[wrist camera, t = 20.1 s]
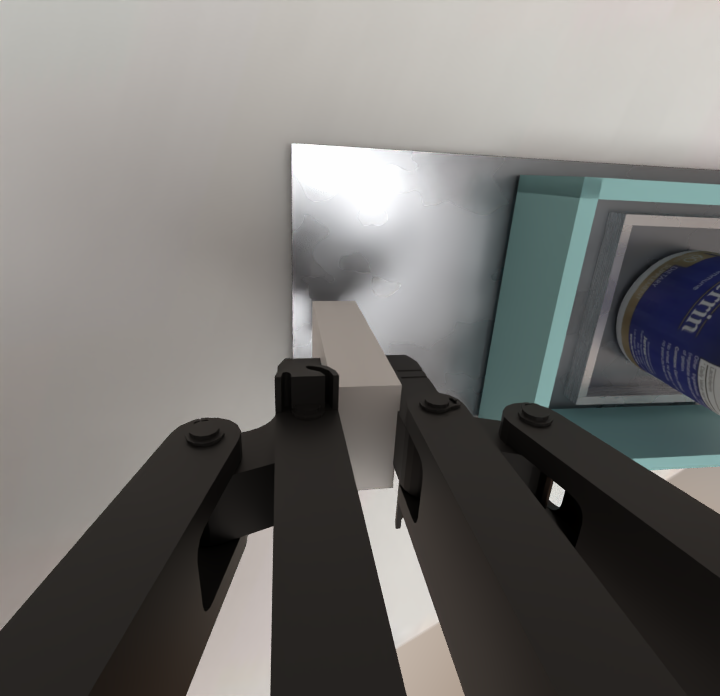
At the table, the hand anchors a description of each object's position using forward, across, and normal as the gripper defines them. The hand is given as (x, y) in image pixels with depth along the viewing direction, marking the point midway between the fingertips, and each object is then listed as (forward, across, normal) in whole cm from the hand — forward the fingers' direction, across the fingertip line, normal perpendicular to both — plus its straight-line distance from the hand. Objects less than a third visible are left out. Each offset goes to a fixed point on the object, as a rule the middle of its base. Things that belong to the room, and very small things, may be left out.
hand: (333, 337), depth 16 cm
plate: (+4, +10, 0) cm, 10 cm away
